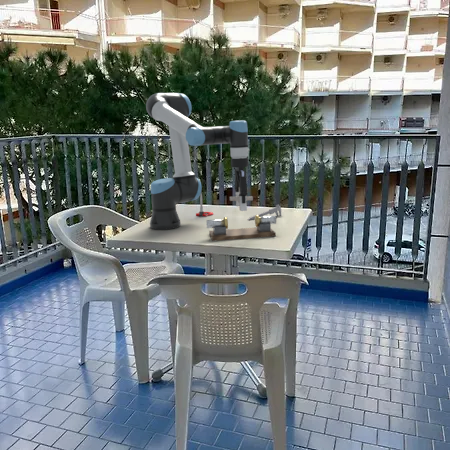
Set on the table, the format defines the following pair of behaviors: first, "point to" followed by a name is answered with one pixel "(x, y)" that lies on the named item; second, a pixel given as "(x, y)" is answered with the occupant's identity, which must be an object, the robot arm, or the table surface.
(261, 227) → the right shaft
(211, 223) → the left shaft
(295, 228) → the table surface
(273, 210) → the caliper
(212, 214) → the tow hook
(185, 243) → the table surface
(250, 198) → the pipe connector
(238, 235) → the board
